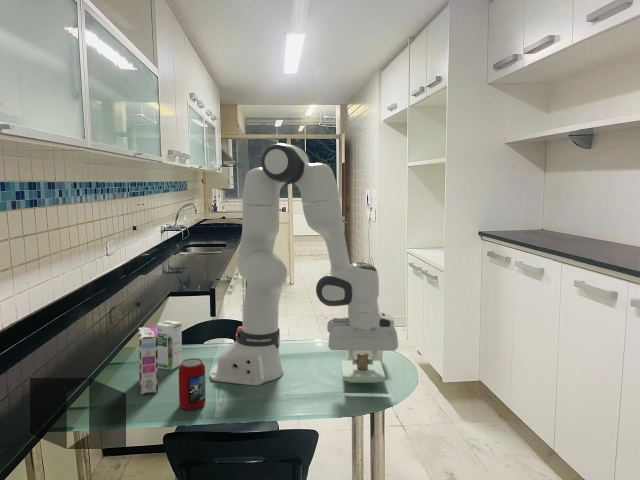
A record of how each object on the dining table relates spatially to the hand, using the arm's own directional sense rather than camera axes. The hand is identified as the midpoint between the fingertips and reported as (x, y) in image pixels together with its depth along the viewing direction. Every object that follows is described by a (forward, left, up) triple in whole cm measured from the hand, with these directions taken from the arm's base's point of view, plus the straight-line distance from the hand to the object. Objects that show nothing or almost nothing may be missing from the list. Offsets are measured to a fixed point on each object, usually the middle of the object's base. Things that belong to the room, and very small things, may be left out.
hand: (362, 364), depth 134 cm
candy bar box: (-62, -3, -7) cm, 63 cm away
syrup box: (-61, +12, -7) cm, 63 cm away
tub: (+2, +16, -7) cm, 18 cm away
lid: (0, 0, -4) cm, 4 cm away
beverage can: (-46, -14, -7) cm, 49 cm away
